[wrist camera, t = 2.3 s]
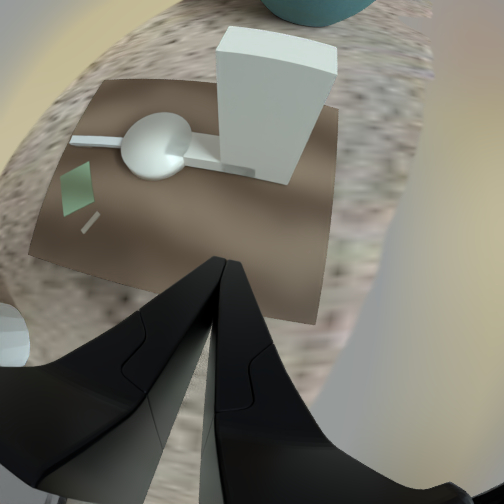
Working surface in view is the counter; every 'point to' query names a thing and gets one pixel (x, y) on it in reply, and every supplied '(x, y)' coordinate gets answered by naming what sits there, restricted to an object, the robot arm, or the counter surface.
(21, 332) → the white cup
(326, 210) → the dial board
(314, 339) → the counter surface
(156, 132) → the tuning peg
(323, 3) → the teal bowl
